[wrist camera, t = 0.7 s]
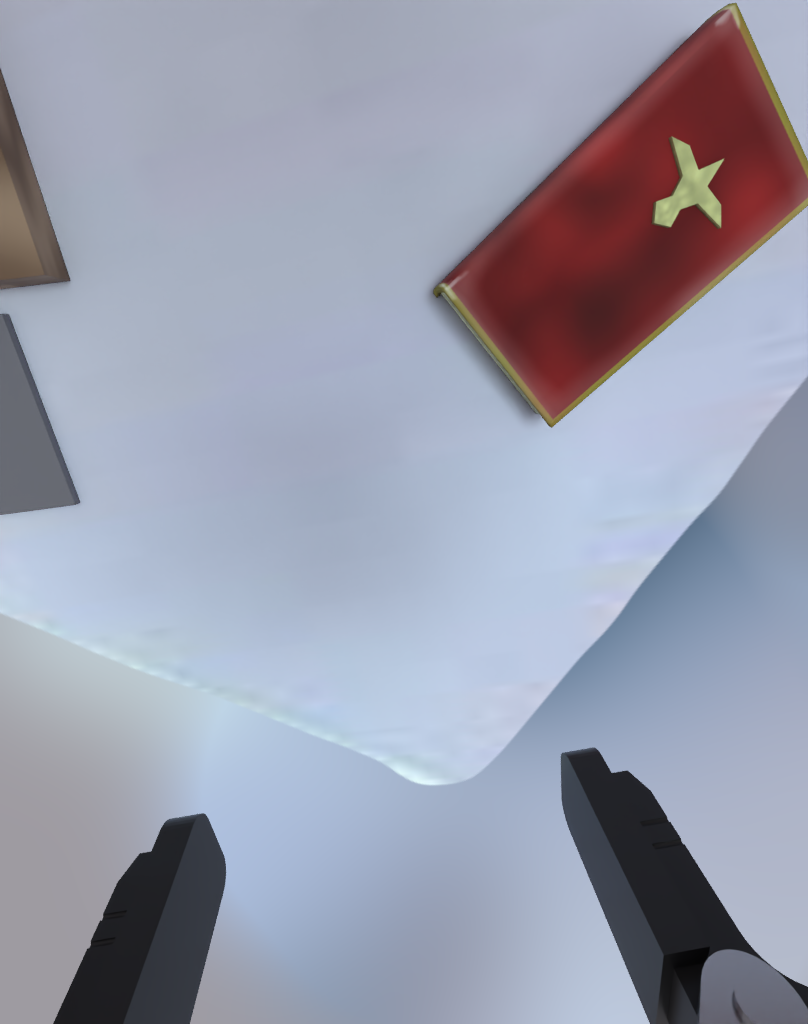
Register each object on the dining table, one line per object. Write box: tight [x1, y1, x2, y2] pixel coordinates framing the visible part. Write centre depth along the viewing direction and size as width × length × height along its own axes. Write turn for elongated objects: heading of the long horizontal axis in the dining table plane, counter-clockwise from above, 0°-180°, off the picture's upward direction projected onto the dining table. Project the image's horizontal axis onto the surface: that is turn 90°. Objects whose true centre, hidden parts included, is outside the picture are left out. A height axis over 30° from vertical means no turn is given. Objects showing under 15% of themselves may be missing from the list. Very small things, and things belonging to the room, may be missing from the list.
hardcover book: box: [433, 3, 808, 427], centre depth 30 cm, size 12×21×4 cm, turn 132°
